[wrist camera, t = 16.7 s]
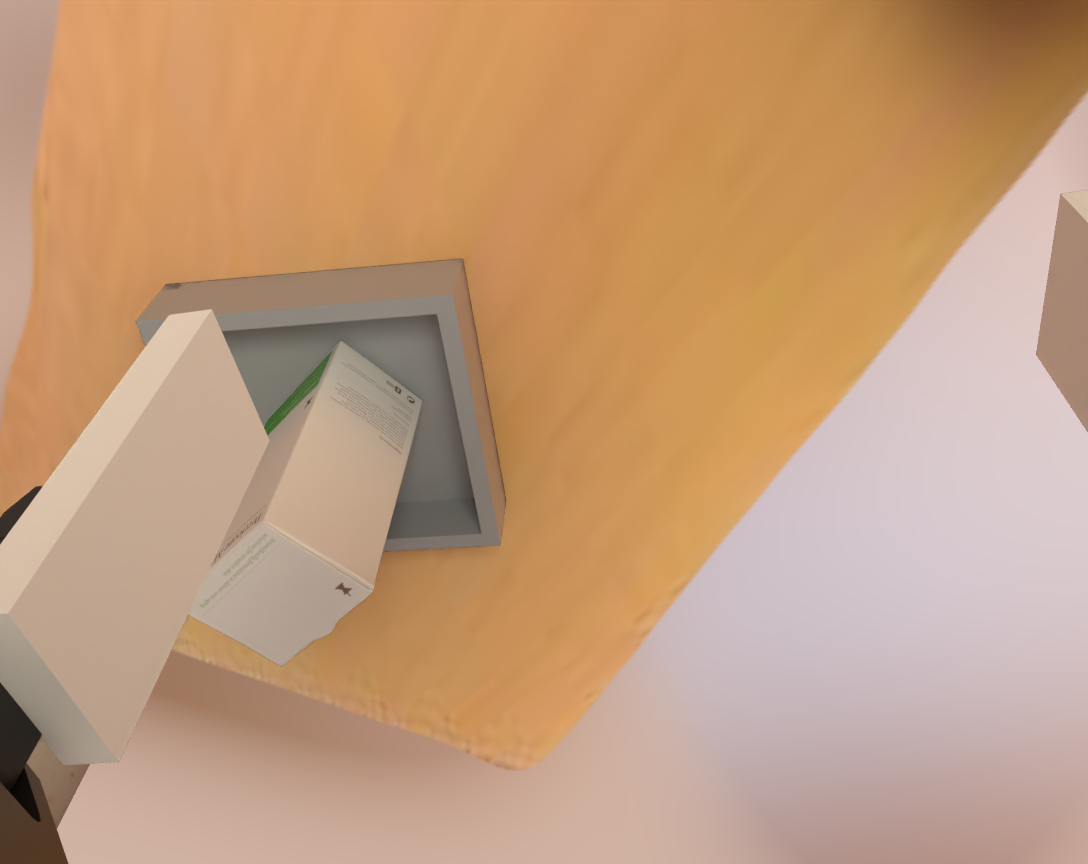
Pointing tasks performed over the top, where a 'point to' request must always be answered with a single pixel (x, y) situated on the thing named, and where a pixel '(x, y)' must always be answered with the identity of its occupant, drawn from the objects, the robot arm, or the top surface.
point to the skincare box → (313, 509)
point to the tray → (393, 346)
